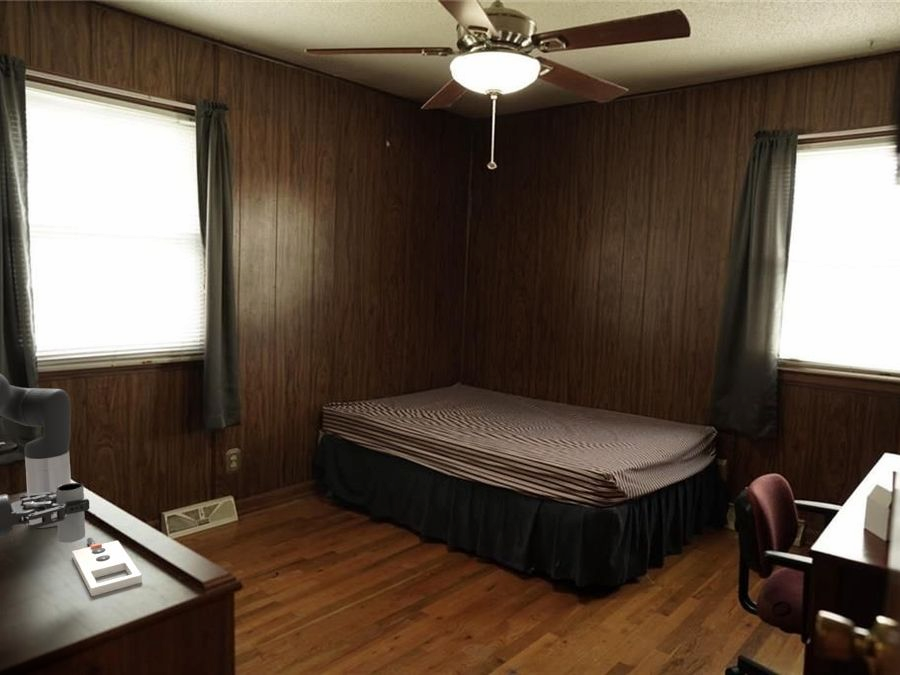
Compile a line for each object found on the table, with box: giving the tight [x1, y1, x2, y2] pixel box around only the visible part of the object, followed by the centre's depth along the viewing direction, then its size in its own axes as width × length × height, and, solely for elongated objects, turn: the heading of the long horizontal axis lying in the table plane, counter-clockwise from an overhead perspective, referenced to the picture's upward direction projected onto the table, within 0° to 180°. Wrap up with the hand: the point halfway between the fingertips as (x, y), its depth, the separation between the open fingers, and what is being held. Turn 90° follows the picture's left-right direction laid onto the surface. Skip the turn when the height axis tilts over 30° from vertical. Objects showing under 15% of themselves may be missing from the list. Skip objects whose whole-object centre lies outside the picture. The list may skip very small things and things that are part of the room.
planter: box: [56, 482, 86, 544], centre depth 125 cm, size 4×4×10 cm
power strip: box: [71, 537, 143, 597], centre depth 138 cm, size 27×9×2 cm, turn 39°
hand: (85, 500), depth 126 cm, fingers closed on planter, 4 cm apart
